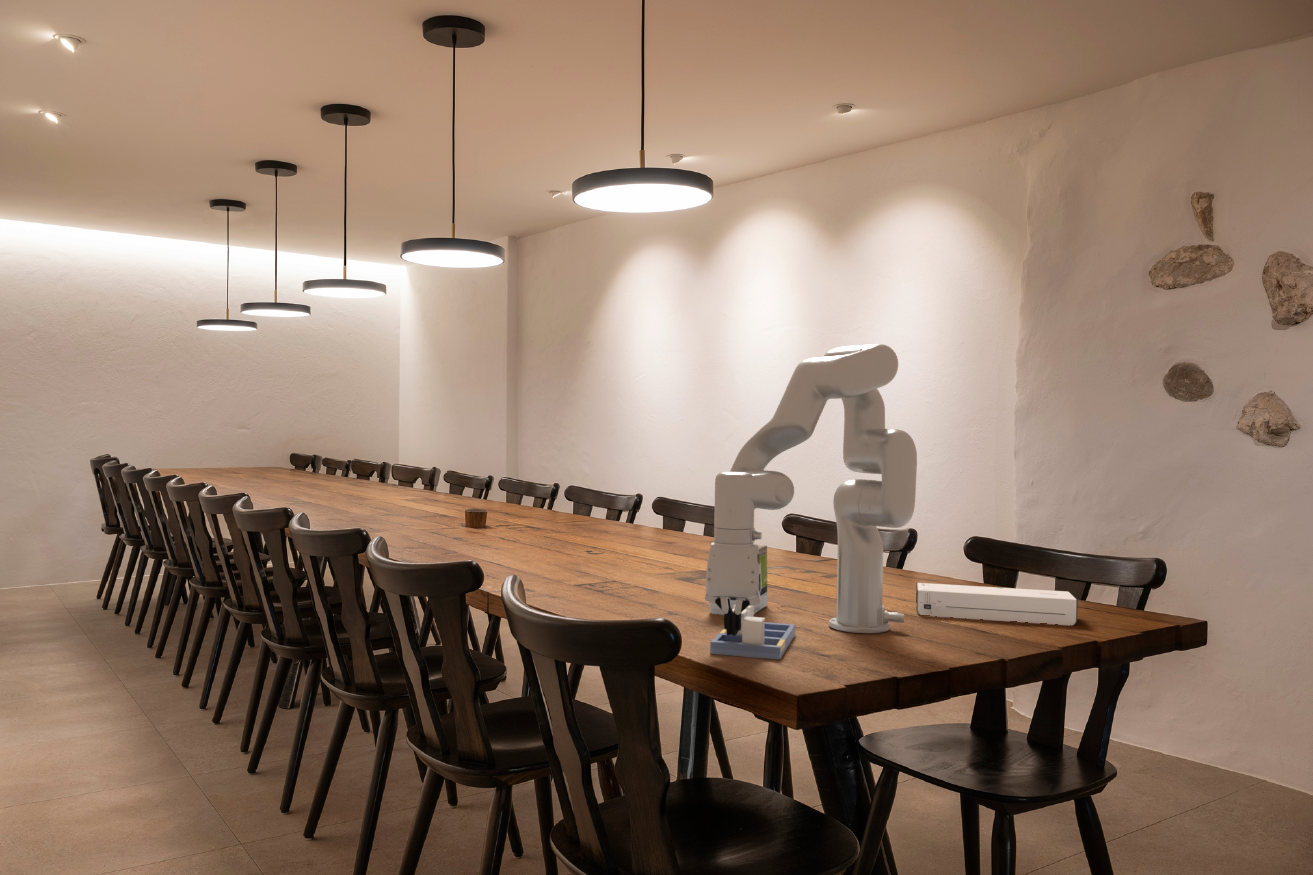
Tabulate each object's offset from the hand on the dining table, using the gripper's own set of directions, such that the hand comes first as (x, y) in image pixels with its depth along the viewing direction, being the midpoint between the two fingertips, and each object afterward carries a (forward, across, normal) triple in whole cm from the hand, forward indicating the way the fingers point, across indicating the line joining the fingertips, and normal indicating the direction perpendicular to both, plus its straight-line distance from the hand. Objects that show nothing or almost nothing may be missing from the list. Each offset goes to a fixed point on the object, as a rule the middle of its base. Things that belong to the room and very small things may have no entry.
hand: (732, 633), depth 171 cm
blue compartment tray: (+3, -3, -6) cm, 8 cm away
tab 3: (+2, -4, 0) cm, 4 cm away
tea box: (+3, +7, -39) cm, 40 cm away
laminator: (+4, -50, -53) cm, 73 cm away
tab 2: (+2, 0, -6) cm, 7 cm away
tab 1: (+2, 0, -13) cm, 13 cm away
